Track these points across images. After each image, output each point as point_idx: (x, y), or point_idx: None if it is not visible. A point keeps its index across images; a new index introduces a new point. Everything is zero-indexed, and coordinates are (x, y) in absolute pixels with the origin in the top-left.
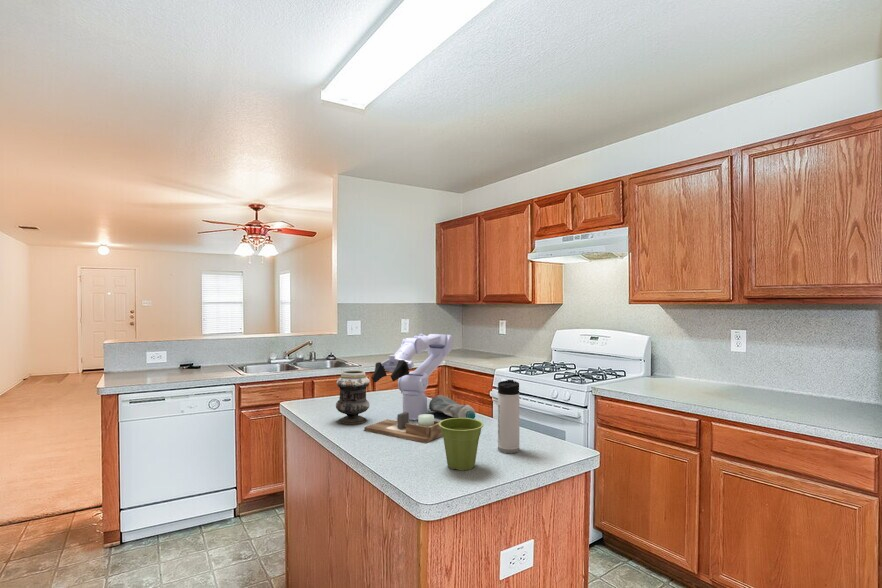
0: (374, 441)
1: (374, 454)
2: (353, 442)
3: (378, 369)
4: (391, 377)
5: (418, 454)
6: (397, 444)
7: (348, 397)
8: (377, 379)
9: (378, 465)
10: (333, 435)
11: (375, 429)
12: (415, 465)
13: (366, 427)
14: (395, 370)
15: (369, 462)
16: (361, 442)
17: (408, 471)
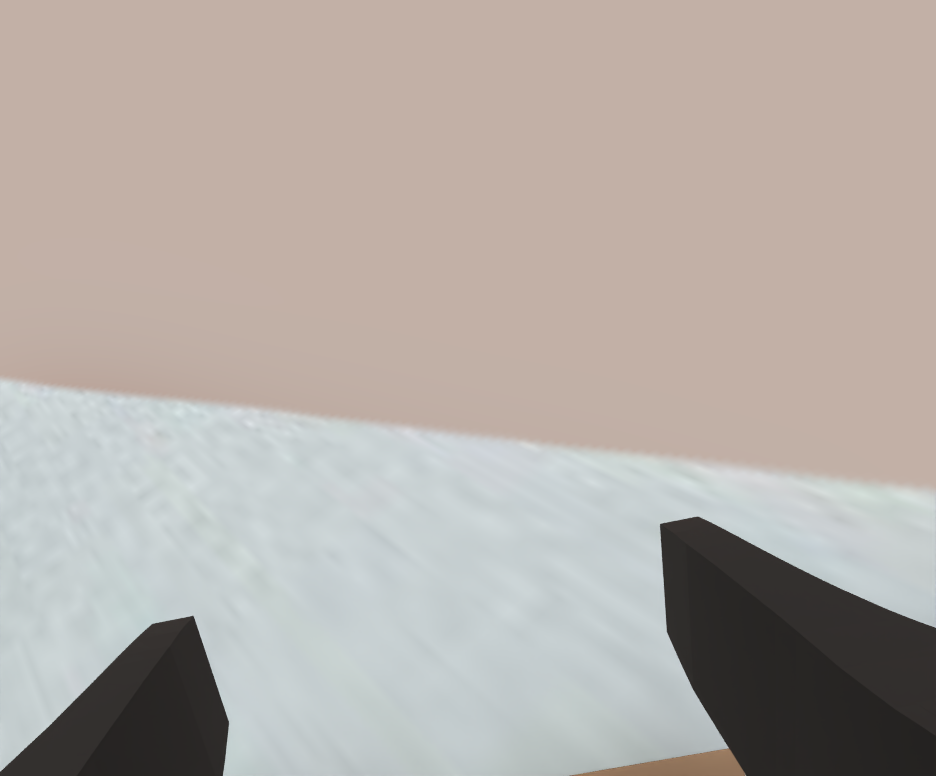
0: (419, 621)
1: (262, 486)
2: (516, 515)
3: (837, 688)
4: (196, 649)
5: (33, 648)
6: (238, 691)
7: None
8: (707, 688)
9: (165, 426)
10: (766, 502)
11: (589, 774)
12: (4, 531)
13: (707, 752)
14: (60, 735)
15: (221, 419)
16: (474, 549)
17: (15, 471)
